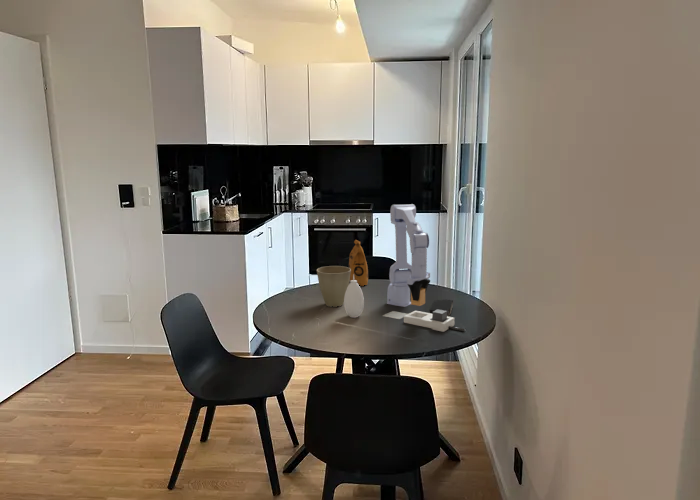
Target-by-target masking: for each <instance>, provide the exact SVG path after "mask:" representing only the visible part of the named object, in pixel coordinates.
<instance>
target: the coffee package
mask: <svg viewBox="0 0 700 500" xmlns="http://www.w3.org/2000/svg"><path fill="white" fill-rule="evenodd" d="M353 243H354V244H355V245H354V246H353V247H352V249H351V251H350V253H349V257H348V258H349V259H348V268H350V269H351V274H350V280H349V282H350V281H351V280H353V274H354V280H356V281H357V283H358V284H359V285H360V287H364V285H367V286H368V281H369V269H368V268H369V267H368V264H367V263H368V262H367V260H366V256H365V253H364V249H363V247H362V246H361V241H359V240H357V239H355V240H354V241H353Z"/></svg>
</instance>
